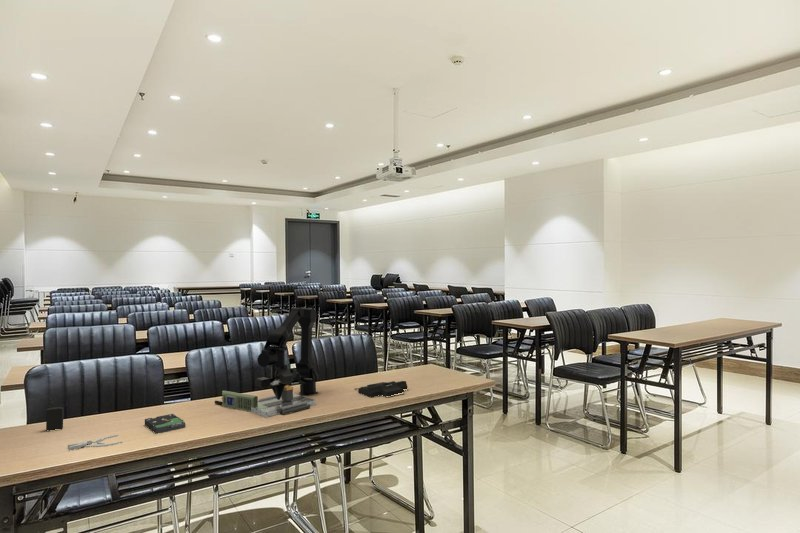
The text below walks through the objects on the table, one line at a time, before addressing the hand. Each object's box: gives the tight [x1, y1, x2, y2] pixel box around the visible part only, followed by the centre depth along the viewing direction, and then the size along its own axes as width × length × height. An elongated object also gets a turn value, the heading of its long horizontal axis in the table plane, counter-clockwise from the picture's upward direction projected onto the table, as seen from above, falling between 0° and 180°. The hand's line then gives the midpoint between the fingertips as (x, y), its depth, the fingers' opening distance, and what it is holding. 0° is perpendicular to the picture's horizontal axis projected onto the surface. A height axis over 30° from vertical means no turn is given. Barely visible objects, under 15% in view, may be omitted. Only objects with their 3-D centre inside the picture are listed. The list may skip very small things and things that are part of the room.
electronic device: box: [355, 380, 408, 398], centre depth 233 cm, size 21×30×5 cm
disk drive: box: [144, 413, 186, 435], centre depth 182 cm, size 10×3×15 cm
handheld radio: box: [214, 390, 259, 413], centre depth 205 cm, size 7×3×25 cm
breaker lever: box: [282, 384, 294, 401], centre depth 207 cm, size 3×4×6 cm
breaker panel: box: [250, 393, 317, 418], centre depth 205 cm, size 24×16×2 cm, turn 136°
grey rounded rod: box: [258, 395, 282, 402], centre depth 212 cm, size 13×4×3 cm, turn 136°
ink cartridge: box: [45, 406, 64, 432], centre depth 180 cm, size 5×2×8 cm, turn 119°
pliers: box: [67, 434, 124, 452], centre depth 164 cm, size 10×2×15 cm
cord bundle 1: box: [279, 401, 311, 416], centre depth 199 cm, size 13×4×3 cm, turn 136°
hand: (278, 399), depth 204 cm, fingers closed
